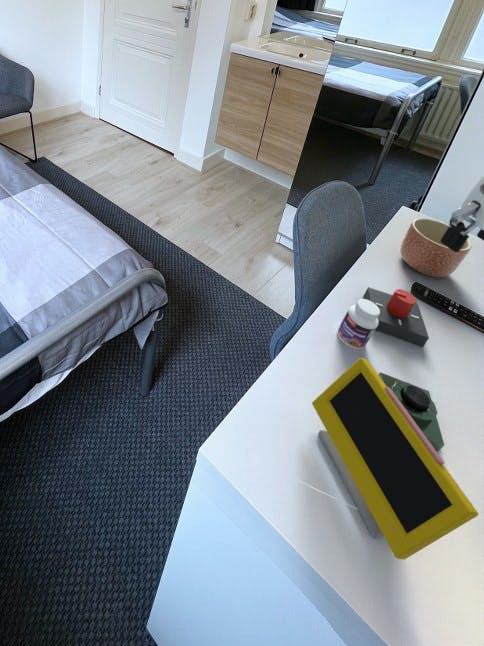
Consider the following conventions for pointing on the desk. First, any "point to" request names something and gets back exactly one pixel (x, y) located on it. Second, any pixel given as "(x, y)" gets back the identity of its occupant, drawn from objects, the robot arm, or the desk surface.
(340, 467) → the yellow framed monitor
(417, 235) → the planter
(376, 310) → the pill bottle
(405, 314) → the dial
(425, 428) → the vent housing
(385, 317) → the handle block
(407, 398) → the vent button
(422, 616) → the desk surface
